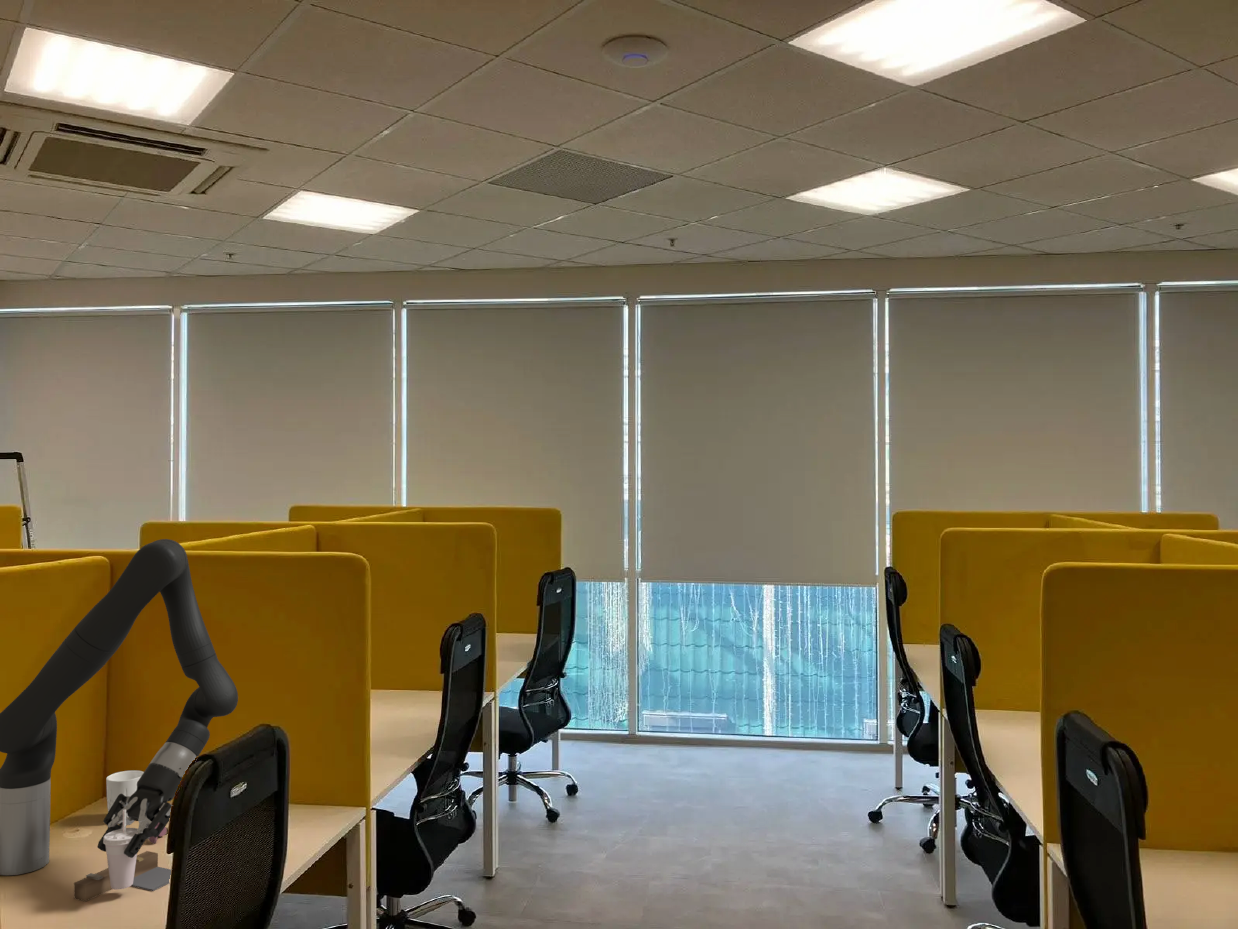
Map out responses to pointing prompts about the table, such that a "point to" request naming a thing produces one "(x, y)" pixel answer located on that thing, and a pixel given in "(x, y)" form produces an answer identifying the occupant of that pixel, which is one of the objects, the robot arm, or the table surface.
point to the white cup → (121, 785)
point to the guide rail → (101, 880)
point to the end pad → (152, 879)
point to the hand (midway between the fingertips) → (114, 852)
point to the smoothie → (120, 856)
